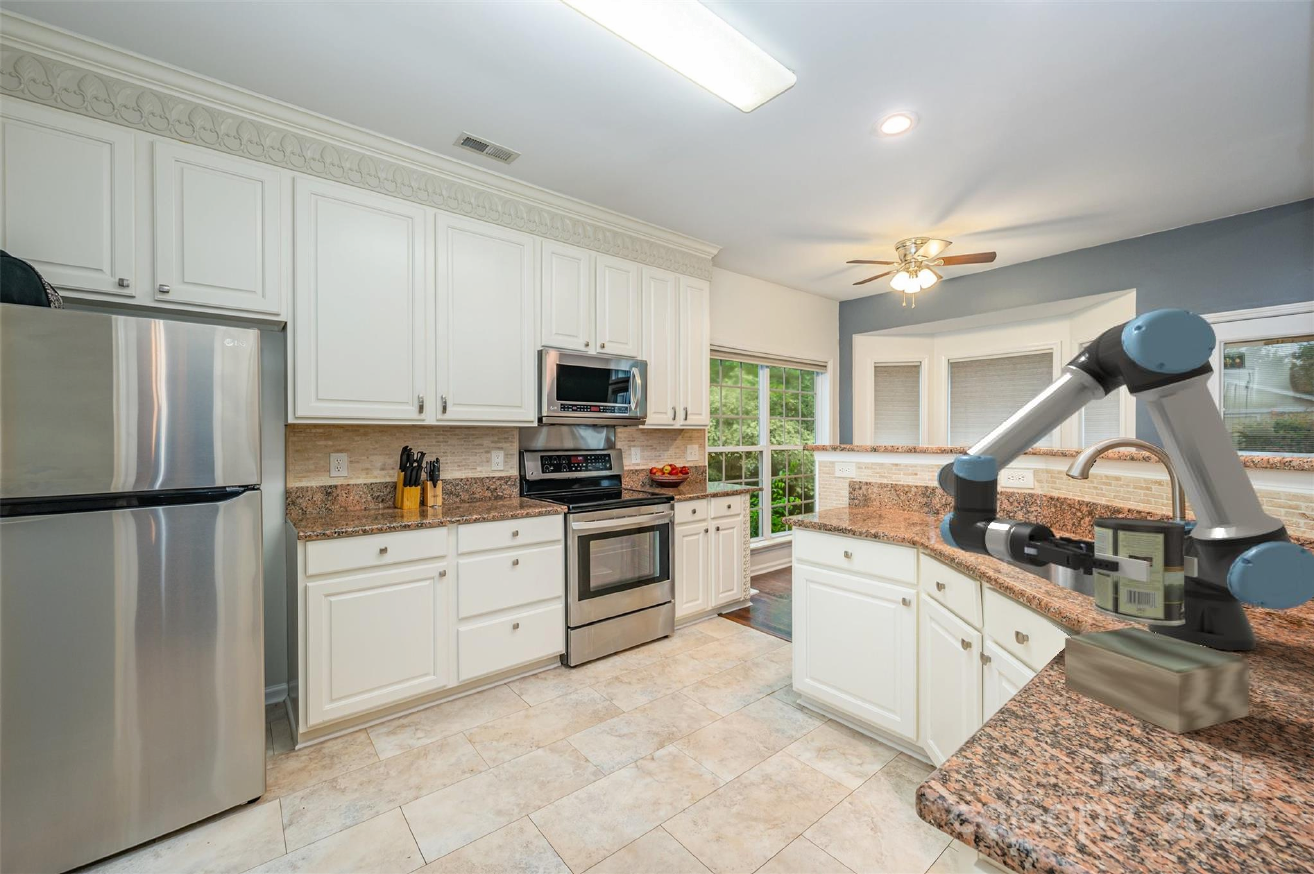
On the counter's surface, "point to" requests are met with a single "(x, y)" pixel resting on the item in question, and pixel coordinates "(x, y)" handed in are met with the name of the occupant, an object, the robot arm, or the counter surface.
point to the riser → (1158, 678)
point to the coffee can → (1166, 557)
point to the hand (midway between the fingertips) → (1172, 569)
